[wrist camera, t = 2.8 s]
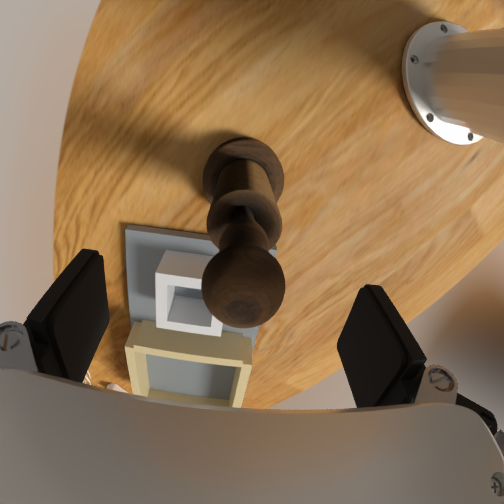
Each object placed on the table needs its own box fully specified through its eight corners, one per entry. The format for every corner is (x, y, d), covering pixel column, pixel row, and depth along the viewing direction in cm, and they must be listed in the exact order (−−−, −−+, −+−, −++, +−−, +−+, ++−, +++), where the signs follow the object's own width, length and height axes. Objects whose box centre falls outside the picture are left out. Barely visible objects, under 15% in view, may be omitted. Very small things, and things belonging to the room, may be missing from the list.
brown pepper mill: (283, 207, 27) (334, 365, 11) (211, 215, 27) (174, 378, 12) (277, 133, 24) (344, 202, 8) (200, 142, 24) (119, 229, 8)
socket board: (275, 244, 29) (281, 273, 24) (238, 398, 40) (238, 428, 36) (129, 224, 28) (109, 249, 23) (141, 384, 39) (134, 413, 34)
